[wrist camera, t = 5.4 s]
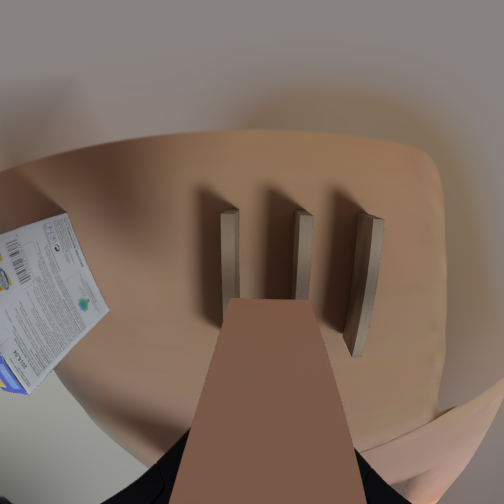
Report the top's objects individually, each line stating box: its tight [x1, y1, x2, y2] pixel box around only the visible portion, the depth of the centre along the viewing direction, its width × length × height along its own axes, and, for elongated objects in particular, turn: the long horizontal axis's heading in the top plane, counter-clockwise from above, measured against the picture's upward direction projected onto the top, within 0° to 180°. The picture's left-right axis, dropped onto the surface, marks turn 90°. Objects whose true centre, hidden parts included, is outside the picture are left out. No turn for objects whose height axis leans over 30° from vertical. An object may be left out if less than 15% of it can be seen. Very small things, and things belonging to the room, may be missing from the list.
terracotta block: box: [169, 298, 367, 504], centre depth 6 cm, size 7×2×7 cm, turn 179°
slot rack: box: [221, 209, 385, 357], centre depth 18 cm, size 10×10×3 cm
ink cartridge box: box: [0, 213, 109, 395], centre depth 13 cm, size 10×6×14 cm, turn 19°
